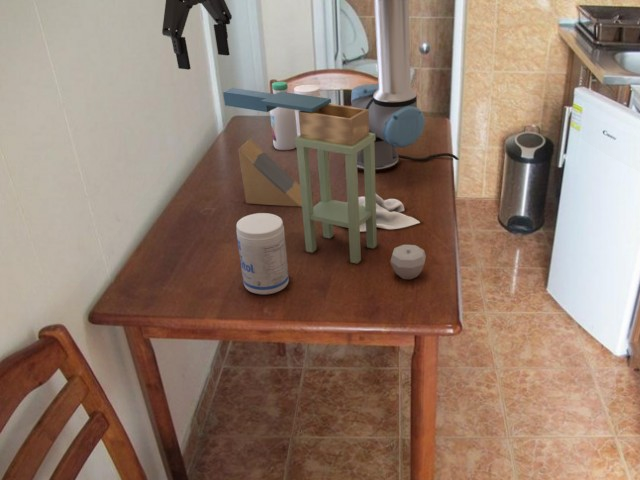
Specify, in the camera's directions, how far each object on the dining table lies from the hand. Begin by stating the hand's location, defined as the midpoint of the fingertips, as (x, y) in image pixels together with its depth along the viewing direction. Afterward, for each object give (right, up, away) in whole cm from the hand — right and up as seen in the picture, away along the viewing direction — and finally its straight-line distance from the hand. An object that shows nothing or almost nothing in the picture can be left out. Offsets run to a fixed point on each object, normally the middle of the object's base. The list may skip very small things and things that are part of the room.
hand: (205, 61), depth 149 cm
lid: (+17, -12, -5) cm, 21 cm away
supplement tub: (+15, -50, -7) cm, 53 cm away
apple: (+46, -48, -4) cm, 67 cm away
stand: (+30, -41, +6) cm, 52 cm away
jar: (+14, +2, +74) cm, 75 cm away
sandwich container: (+11, -26, +30) cm, 41 cm away
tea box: (+30, -19, -8) cm, 36 cm away
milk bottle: (+7, -5, +63) cm, 64 cm away
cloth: (+38, -32, +21) cm, 54 cm away
